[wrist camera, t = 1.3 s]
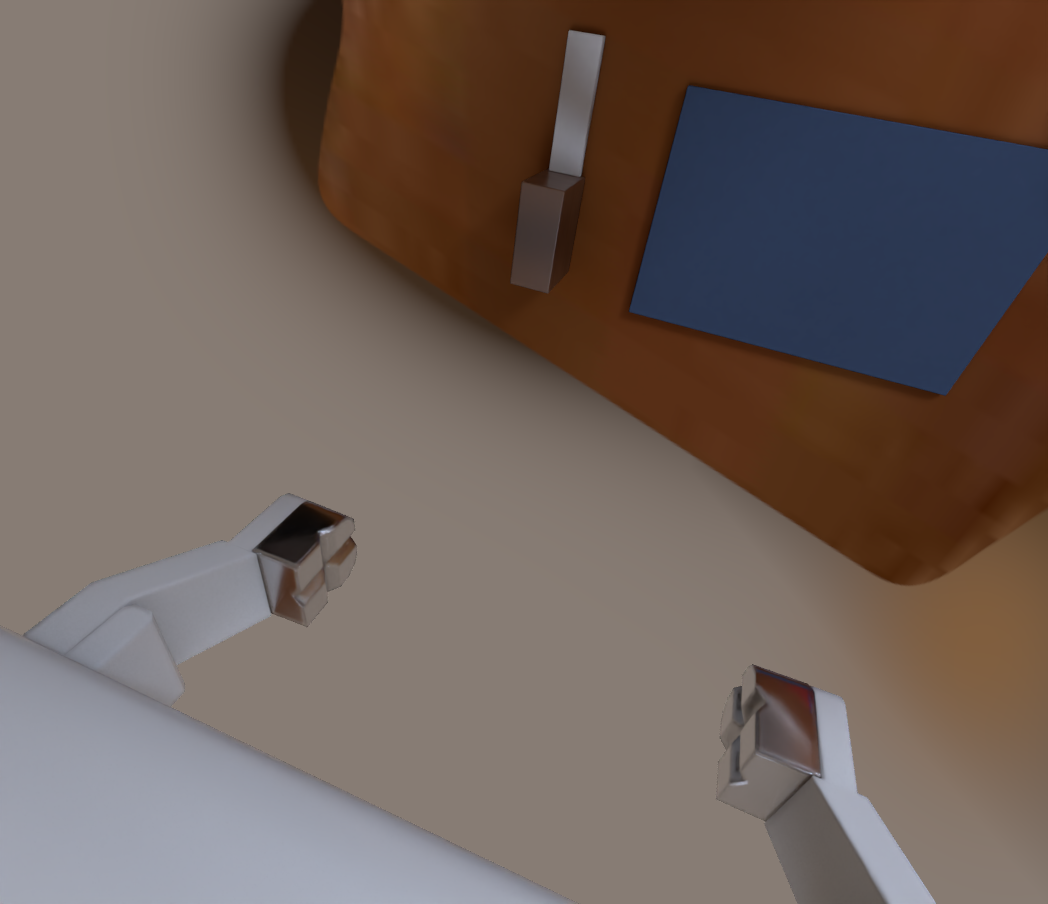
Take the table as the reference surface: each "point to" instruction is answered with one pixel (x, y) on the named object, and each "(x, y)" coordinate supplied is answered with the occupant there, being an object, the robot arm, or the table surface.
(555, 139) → the letter opener
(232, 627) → the robot arm
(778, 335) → the desk mat
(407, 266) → the table surface
